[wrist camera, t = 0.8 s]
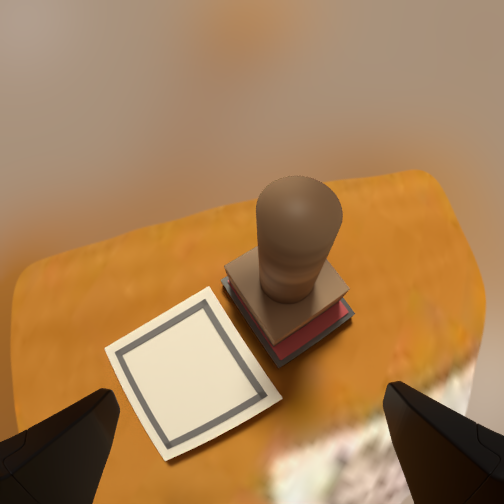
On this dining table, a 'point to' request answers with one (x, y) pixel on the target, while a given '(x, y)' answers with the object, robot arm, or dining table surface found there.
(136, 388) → the marked board
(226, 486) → the dining table surface
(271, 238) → the stamp
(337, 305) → the ink pad
